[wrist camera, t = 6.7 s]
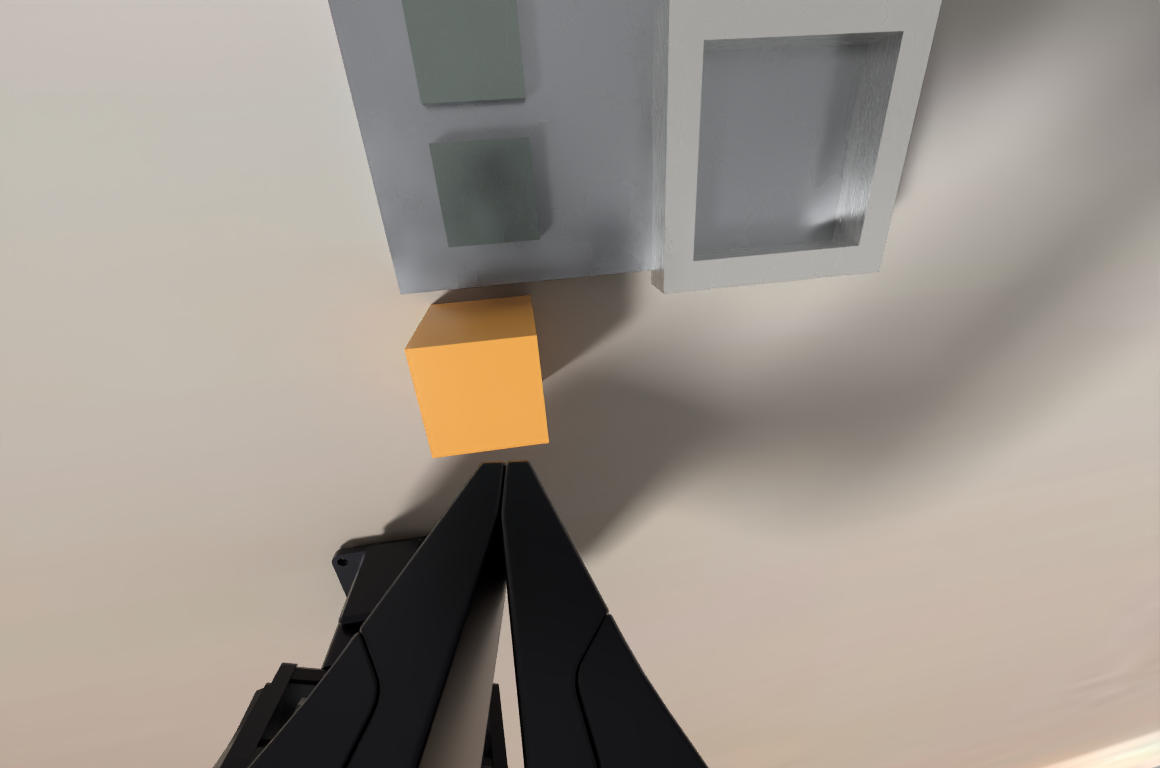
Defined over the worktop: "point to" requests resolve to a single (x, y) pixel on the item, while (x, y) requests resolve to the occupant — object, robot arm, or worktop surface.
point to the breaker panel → (634, 135)
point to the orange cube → (478, 376)
